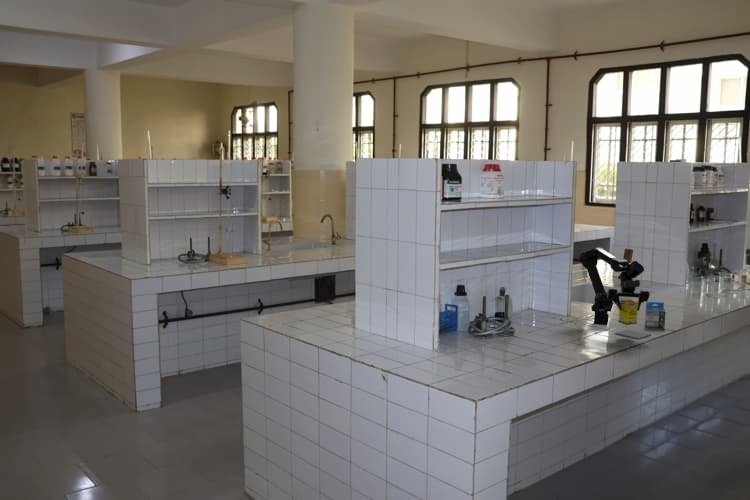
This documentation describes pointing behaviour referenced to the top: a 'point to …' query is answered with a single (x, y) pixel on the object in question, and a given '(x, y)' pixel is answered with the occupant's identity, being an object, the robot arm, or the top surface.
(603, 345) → the top surface
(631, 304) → the supplement box
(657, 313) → the label tape box
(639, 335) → the mat
